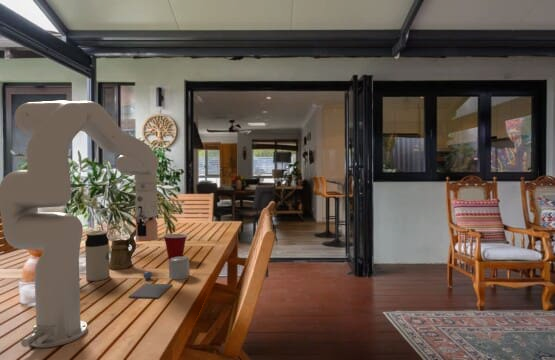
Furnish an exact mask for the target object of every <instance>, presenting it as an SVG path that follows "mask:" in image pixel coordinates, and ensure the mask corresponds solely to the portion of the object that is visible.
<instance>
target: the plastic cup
mask: <svg viewBox="0 0 555 360" xmlns="http://www.w3.org/2000/svg"><path fill="white" fill-rule="evenodd" d="M162 236H163V238H164V242H165V247H166V252H167V253H166V254H167V256H168V257H167V258H168V262H169V261H170V259H171V258H173V257H180V256H184V251H185V247H186V245H185V244H186V240H187V237H188V234H184V233H169V234H164V235H162Z"/></svg>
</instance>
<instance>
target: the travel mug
mask: <svg viewBox="0 0 555 360" xmlns="http://www.w3.org/2000/svg"><path fill="white" fill-rule="evenodd" d="M107 234H108V230H104V229H101V230H91V231H88V232H87V231H86V233H85V235H86V239H85V241H84V243H85V244H84V245H85V246H84V247H85V249H84V251H85V279H86V280H87V281H89V282H98V281H103V280H105V279H108V278H109V277H110V269H109V264H110V250H109V249H110V246H109V245H110V244H109V243H110V242H109V238H108V235H107Z"/></svg>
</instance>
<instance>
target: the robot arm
mask: <svg viewBox="0 0 555 360" xmlns="http://www.w3.org/2000/svg"><path fill="white" fill-rule="evenodd" d="M14 121H15V124H16V126H17V127H18V129H20V130H21V131H22V132H24V133H25V134H28V135H31V136H30V138H29V140H28V142H27V144H26V145H27V146H26V152H25V153H26V167H27V169H20V170H14V171H12V172H9V173H8V174H7V175H5V176H4V177H3V178H2V180H1V181H0V218H1V224H2V225H1V226H2V230H3V235H4V238H5V240H6V242H7V244H9V246H11V247H12V248H15V249H18V250H28V251H29V250H30V251H42V252H41V254H40V257H39V258H38V260H37V262H36V264H35V267H34V271H33V272H34V273H33V274H34V275H33V276H34V297H35V325H34V326H33V331H32V332H31V334H29V335H27V336H26V337H24V338H22V340H21V341H20V344H21V347H23V348H27V347H28V346H29V347H30V346H32V347H34V348H40V349H41V348H43V349H44V348H45V349H46V348H54V347H60V346H62V345H65V344H69V343H71V342H73V341H75V340H78V339H79V338H81V337H83V335H85V334H86V333H87V332H88V326H89V325H88V323H87V322H86V321H84V320H81V288H80V284H81V283H80V249H81V243H82V238H83V233H84V232H83V229H84V227H83V223H82V222H81V220H80V219H79V218H78V217H77V216H76V215H74V214H71V213H66V212H60V211H59V212H57V211H56V212H55V211H54V212H52V211H49V212H48V211H47V212H46V211H44V212H42V211H41V212H39V209H56V208H61V207H64V206H66V205H68V203H69V202H70V201H71V198H72V182H71V172H70V165H69V164H70V162H69V149H70V146H71V144H72V141H73V140H74V138H75V137H76V136H77V135H78V134H79V133H80V132H83V133H85V134H86V135H87V136H88V137H89V138H90V139H91V140H92V141H93V142H94V143H95V144H96V145H97V146H98V147H99V148H100V149H101V150H103V151H105V152H108V153H111V154H114V155H118V157H117V158H116V160H115V167H116V169H117V171H118V172H119V173H121V174H122V175H130V176H131V175H132V176H135V178H134V181H135V182H134V186H135V188H134V189H135V190H134V191H135V203H134V205H135V206H134V208H135V209H134V210H135V214H134V219H135V223H137V235H138V236H146V225H145V223H146V219H155V220H156V221H157V216H158V215H159V200H158V192H157V191H158V190H157V189H158V188H157V171H158V170H159V168H160V162H159V158H158V156H157V154H156V153H155V151H154V150H153V149H152V148H151V146H150V145H148V143H146V142H144V141H142V140H141V139H139V138H137V137H135V136H133V135H132V134H129V133H127V132H125V131H123V130H122V129H121V128H120V126H119V125H118V124H117V123H116V121H115V120H114V119H113V117H111V116H110V114H109V113H108V112H107V111H106V109H105V108H104V107H103V106H102V105H101V104H100V103H98V102H95V101H92V100H91V101H89V100H80V101H78V100H77V101H71V100H53V101H52V100H51V101H29V102H24V103H23V104H20V105H19V106H18V107H17V108H16V110H15V112H14ZM142 220H143V221H142Z"/></svg>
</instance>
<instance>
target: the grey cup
mask: <svg viewBox="0 0 555 360" xmlns="http://www.w3.org/2000/svg"><path fill="white" fill-rule="evenodd" d="M168 270H169V271H168V272H169V273H168V274H169V275H168V277H169V279H171V280H183V279H187V278H188V277H189V276H190V274H191V272H190V259H189V257H187V256H184V255H183V256H180V257H173V258H171V259H170V261H169V260H168Z"/></svg>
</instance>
